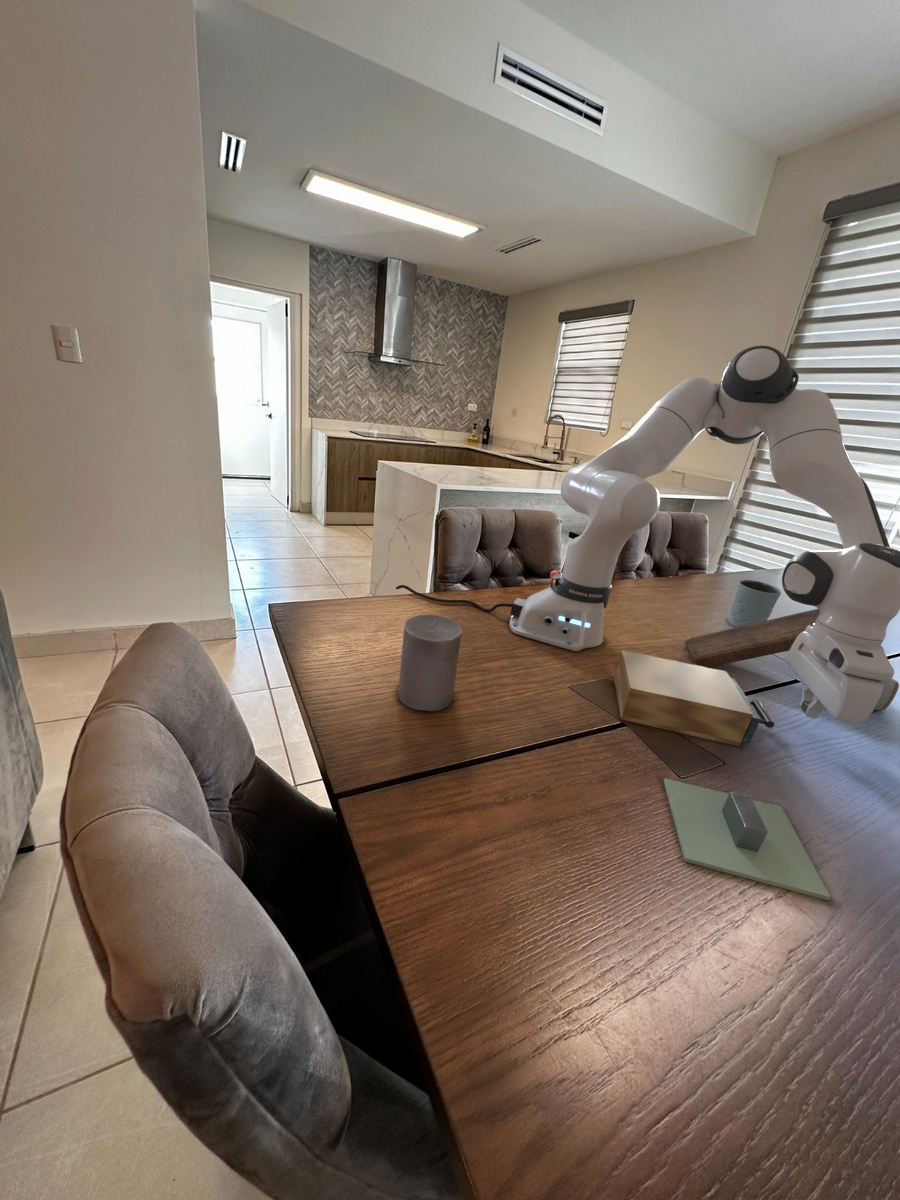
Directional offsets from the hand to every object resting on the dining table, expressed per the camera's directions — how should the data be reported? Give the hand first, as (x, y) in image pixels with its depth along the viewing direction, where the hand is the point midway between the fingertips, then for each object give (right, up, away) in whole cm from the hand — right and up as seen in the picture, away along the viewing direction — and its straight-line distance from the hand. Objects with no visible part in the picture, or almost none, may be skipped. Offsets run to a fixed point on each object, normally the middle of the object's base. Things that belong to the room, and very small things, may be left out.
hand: (807, 713), depth 82 cm
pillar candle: (-67, +3, +1) cm, 67 cm away
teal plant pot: (+20, +12, +50) cm, 55 cm away
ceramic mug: (+24, -1, +18) cm, 30 cm away
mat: (-25, -11, -20) cm, 34 cm away
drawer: (-17, -1, +5) cm, 18 cm away
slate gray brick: (-25, -11, -20) cm, 34 cm away
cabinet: (-21, -1, +6) cm, 22 cm away
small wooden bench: (+7, +4, +25) cm, 26 cm away
